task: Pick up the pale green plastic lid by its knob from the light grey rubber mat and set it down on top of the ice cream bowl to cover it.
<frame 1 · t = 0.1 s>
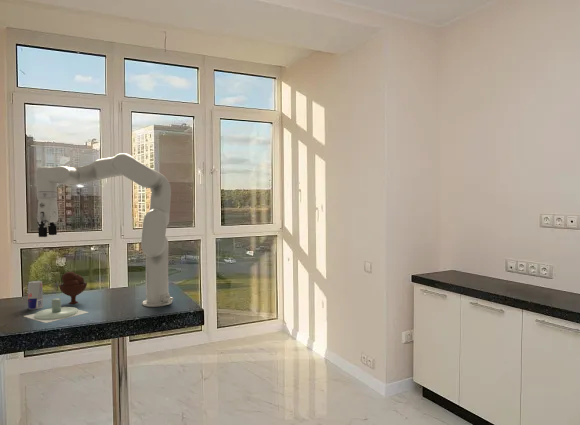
hand: (47, 235, 179), 31 cm above the table, tool pointing down, fingers open, 9 cm apart
ice cream bowl: (73, 305, 185), on the table
energy drink: (35, 310, 177), on the table
lid: (56, 314, 167), point 1 cm above the table, touching mat
mat: (56, 316, 167), on the table
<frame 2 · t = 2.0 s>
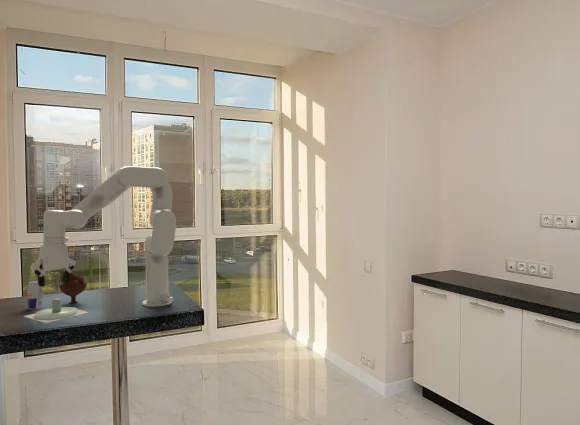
hand: (54, 284, 166), 13 cm above the table, tool pointing down, fingers open, 9 cm apart
nothing on the table moved.
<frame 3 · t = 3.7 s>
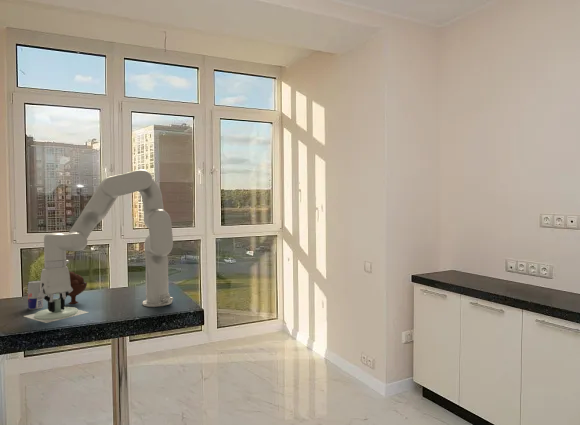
hand: (56, 309, 167), 3 cm above the table, tool pointing down, fingers closed on lid, 3 cm apart
lid: (56, 314, 167), point 1 cm above the table, touching gripper, mat
everything else where it was.
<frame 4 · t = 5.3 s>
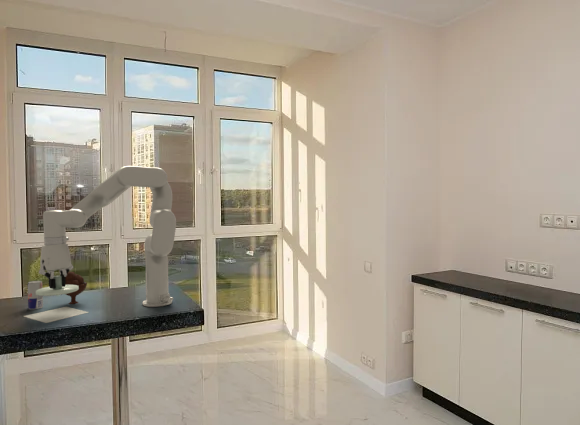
hand: (57, 286, 167), 12 cm above the table, tool pointing down, fingers closed on lid, 3 cm apart
lid: (57, 291, 167), point 10 cm above the table, touching gripper
everything else where it was.
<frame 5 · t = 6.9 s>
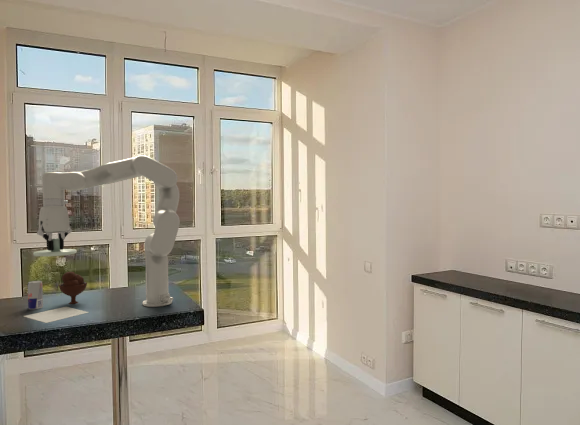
hand: (55, 249, 166), 27 cm above the table, tool pointing down, fingers closed on lid, 3 cm apart
lid: (55, 253, 166), point 25 cm above the table, touching gripper
everything else where it was.
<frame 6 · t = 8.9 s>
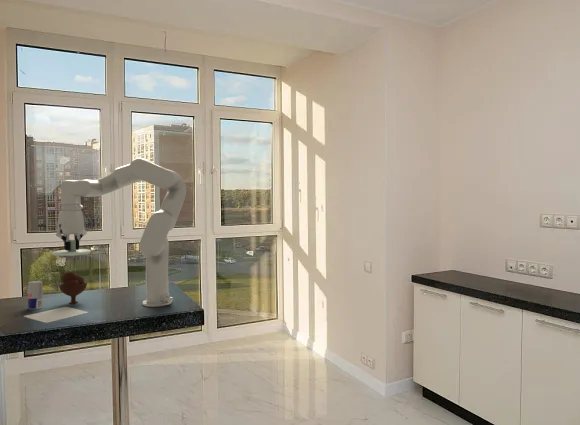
hand: (71, 249, 184), 25 cm above the table, tool pointing down, fingers closed on lid, 3 cm apart
lid: (71, 253, 184), point 23 cm above the table, touching gripper
everything else where it was.
when the fingers open (19 cm above the table, at t = 10.1 s): lid drops 2 cm and tips over, resting on ice cream bowl.
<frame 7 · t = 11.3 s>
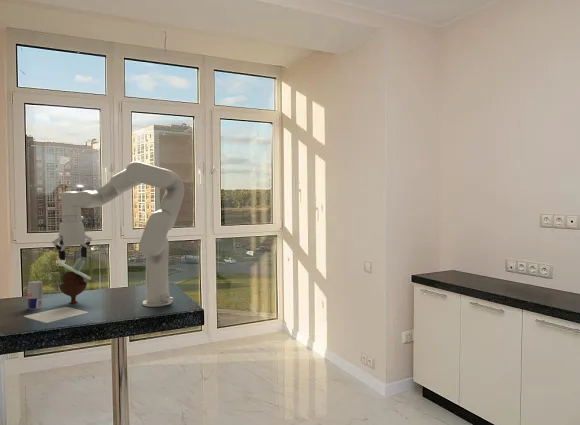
hand: (73, 258, 184), 21 cm above the table, tool pointing down, fingers open, 9 cm apart
ice cream bowl: (73, 305, 185), on the table, touching lid
lid: (74, 271, 185), point 15 cm above the table, tilted 34°, touching ice cream bowl
everything else where it was.
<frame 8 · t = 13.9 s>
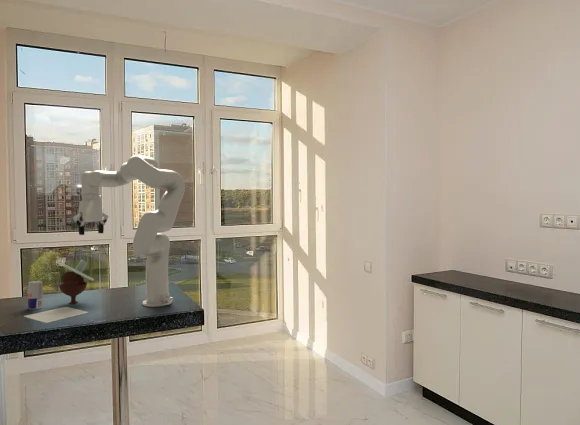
hand: (91, 234, 198), 30 cm above the table, tool pointing down, fingers open, 9 cm apart
lid: (76, 273, 186), point 14 cm above the table, tilted 34°, touching ice cream bowl
everything else where it was.
at the end: lid 1.7 cm from the ice cream bowl (horizontally); lid point 14.0 cm above the table; the gripper is holding nothing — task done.
